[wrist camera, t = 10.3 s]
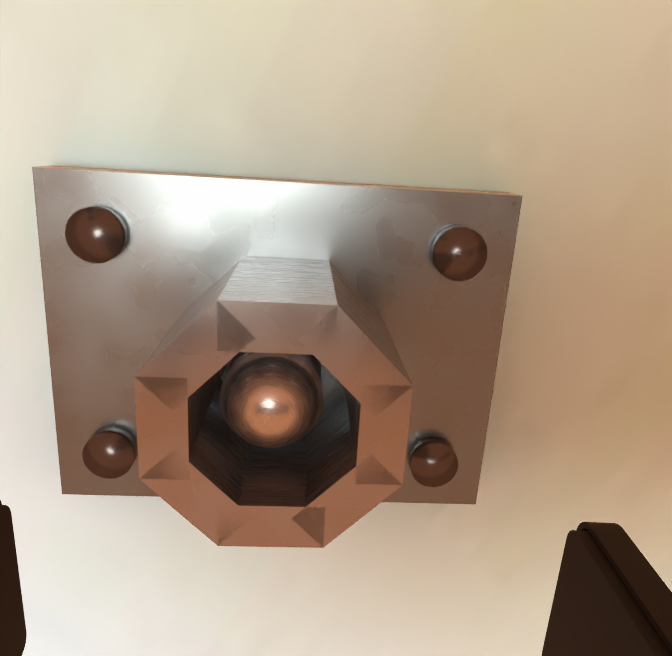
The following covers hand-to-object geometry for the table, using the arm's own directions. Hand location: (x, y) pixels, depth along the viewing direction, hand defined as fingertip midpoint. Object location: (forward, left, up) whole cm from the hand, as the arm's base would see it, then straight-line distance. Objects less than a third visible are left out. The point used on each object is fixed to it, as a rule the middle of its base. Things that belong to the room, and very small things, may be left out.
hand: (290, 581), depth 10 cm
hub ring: (+1, 0, -12) cm, 12 cm away
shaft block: (+1, 0, -13) cm, 13 cm away
